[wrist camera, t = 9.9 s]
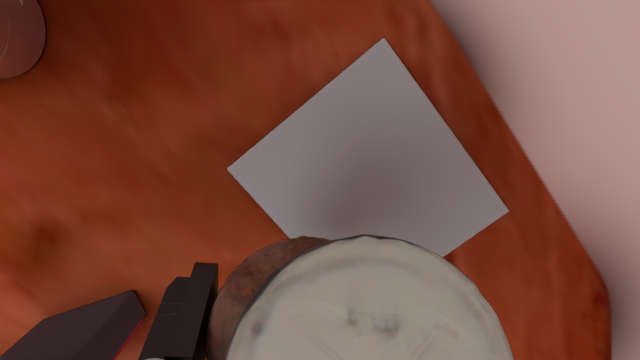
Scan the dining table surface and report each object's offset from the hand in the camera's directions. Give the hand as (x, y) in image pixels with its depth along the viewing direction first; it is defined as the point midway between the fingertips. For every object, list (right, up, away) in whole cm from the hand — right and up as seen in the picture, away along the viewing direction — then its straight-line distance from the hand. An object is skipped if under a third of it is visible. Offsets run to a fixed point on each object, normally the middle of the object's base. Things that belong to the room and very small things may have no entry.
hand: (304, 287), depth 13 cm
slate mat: (+5, +3, +22) cm, 23 cm away
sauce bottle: (-2, -4, +10) cm, 11 cm away
